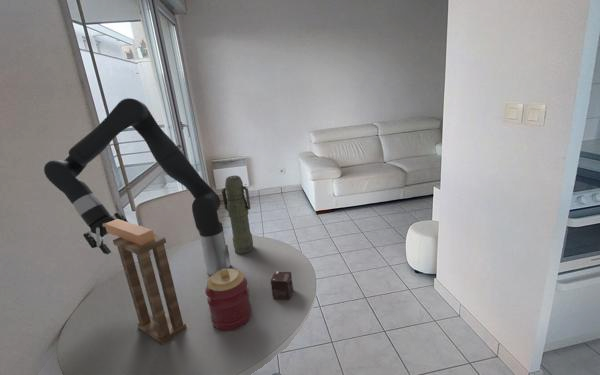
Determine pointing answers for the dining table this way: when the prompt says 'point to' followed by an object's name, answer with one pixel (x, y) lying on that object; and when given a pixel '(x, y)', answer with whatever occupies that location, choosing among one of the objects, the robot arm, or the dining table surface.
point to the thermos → (238, 213)
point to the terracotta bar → (130, 231)
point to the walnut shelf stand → (151, 288)
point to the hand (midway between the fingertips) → (119, 246)
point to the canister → (228, 299)
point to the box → (282, 285)
